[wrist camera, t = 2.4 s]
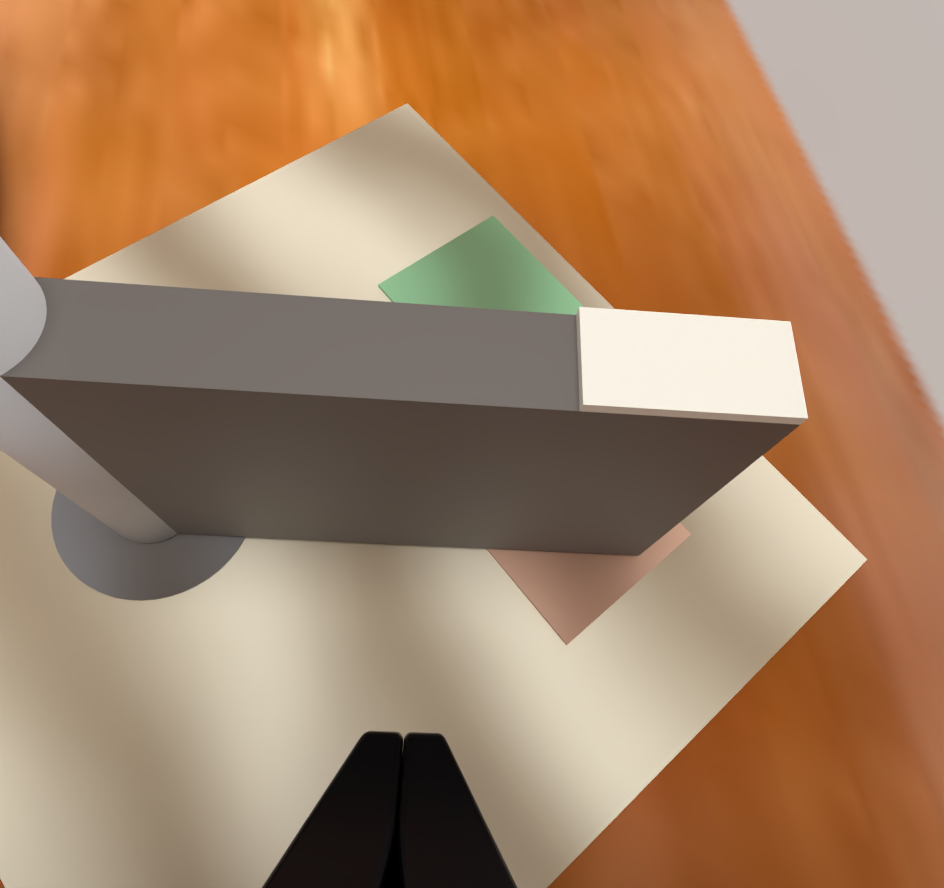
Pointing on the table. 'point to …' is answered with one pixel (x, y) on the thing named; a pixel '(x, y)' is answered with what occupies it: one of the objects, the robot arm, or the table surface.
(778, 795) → the table surface
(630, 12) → the table surface
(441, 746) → the robot arm
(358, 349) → the grey upright slab
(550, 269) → the cream square board
